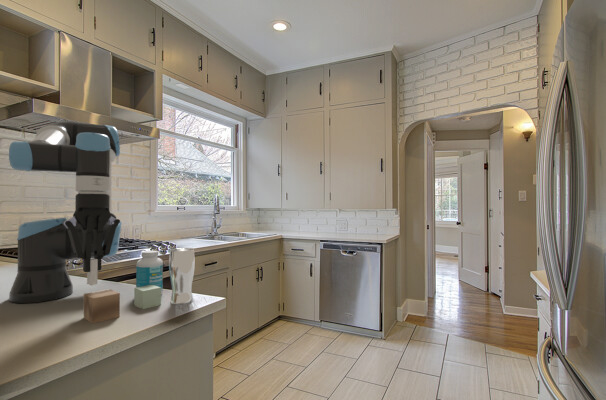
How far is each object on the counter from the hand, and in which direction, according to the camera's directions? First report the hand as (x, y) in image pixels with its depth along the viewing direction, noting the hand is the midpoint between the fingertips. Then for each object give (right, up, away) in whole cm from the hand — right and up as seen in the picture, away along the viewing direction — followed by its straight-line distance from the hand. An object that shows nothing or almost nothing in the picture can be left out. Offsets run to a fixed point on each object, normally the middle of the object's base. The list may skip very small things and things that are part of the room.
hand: (92, 283), depth 88 cm
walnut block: (+3, -4, -2) cm, 6 cm away
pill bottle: (+8, -8, +15) cm, 19 cm away
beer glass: (+20, -8, +10) cm, 23 cm away
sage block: (+12, -8, +6) cm, 15 cm away
